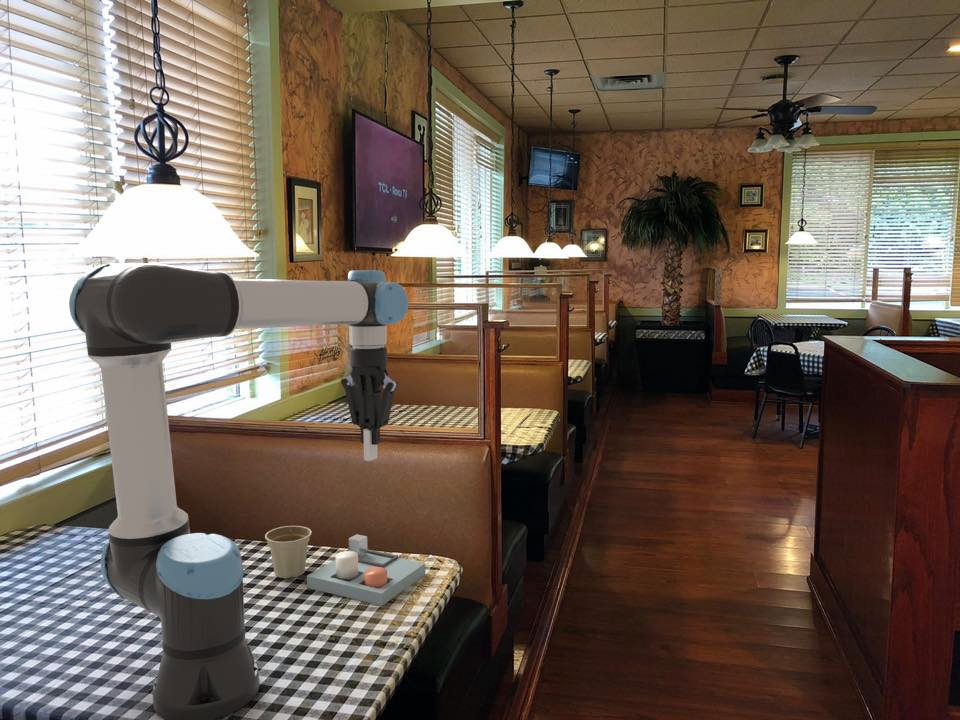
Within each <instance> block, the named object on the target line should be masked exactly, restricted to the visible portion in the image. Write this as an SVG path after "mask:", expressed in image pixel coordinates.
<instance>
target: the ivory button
mask: <svg viewBox="0 0 960 720" xmlns="http://www.w3.org/2000/svg"><path fill="white" fill-rule="evenodd" d="M335 560H336V576H337V577H338V578H341V579H350V578H354V577H356V576H357V575H358V553H356V552H353V551H348V550H345V551H340V552H338V553H336V554H335Z"/></svg>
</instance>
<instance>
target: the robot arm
mask: <svg viewBox="0 0 960 720" xmlns="http://www.w3.org/2000/svg"><path fill="white" fill-rule="evenodd" d="M68 304H69V305H68V306H69V313H70V316H71V319H72V320H73V323H74V324H75V325H76V327H77V328H78V329H79V330H80V331H81V332H83V333H84V335H85V343H86V350H87V358H89V359H91V360H92V361H93V362H95V364H97V365H98V366H99V367H100V372H101V379H102V389H103V397H104V406H105V415H106V422H107V423H106V424H107V434H108V441H109V449H110V459H111V467H112V468H111V469H112V474H113V484H114V492H115V501H116V509H117V517H116V519H115V520H113V521H112V523H111V524H110V525H109V527H108V536H109V538H108V542H107V544H106V545H105V546H104V547H103V549H102V552H101V557H100V571H101V575H102V578H103V580H104V581H105V583H106V584H107V586H108V587H109V588H110V589H111V590H112V591H113V592H114V593H116V594H117V596H118V597H120V598H121V599H124V600H126V601H127V602H130V603H133V604H135V605H137V606H138V607H140V608H142V609H144V610H146V611H148V612H150V613H151V614H154V615H155V616H157V617H158V618H160V625H161V642H162V655H161V659H160V664H159V668H158V673H157V678H156V679H155V681H154V682H153V686H152V693H151V695H152V706H153V707H152V708H153V710H154V712H155V713H156V714H157V715H158V716H159V717H161V718H162V719H165V720H217V719H220V718H223V717H225V716H228V715H230V714H232V713H234V712H236V711H239V710H240V709H242V708H244V707H245V706H246V705H247V704H249V703H250V702H251V701H253V699H254V698H255V697H256V696H257V694H258V691H259V689H260V671H259V667H258V665H257V663H256V661H255V658H254V655H253V652H252V650H251V648H250V646H249V643H248V641H247V639H246V627H245V625H246V623H245V622H246V621H245V605H244V604H245V601H244V600H245V599H244V598H245V597H244V578H243V577H244V574H245V573H244V571H245V570H244V565H243V561H242V553H241V551H240V548H239V547H238V545H237V543H235V542H234V541H233V540H232V539H230V538H229V537H226V536H224V535H220V534H217V533H210V534H206V533H205V532H195V533H193V532H192V533H191V530H190V522H189V515H188V513H187V512H186V511H184V510H183V509H181V508H179V506H178V505H177V495H176V485H175V474H174V467H173V466H174V464H173V456H172V455H173V454H172V447H171V446H172V444H171V435H170V434H171V433H170V425H169V415H168V405H167V396H166V385H165V376H164V366H163V365H164V364H163V361H164V359H165V358H166V356H168V354H169V353H170V352H171V351H172V343H177V342H185V341H192V340H193V341H194V340H199V339H207V338H221V337H228V336H230V335H232V333H233V332H234V331H235V330H243V329H248V330H249V329H264V328H265V329H267V328H288V327H290V328H291V327H312V326H313V327H314V326H335V325H337V326H338V325H339V326H340V325H349V326H348V327H349V331H348V332H349V334H348V335H349V345H350V346H352V347H350V349H349V360H350V362H349V364H350V365H351V370H350V375H347V377H345V378H342V379H341V380H340V383H341V385H342V386H343V389H344V392H345V397H346V401H347V405H348V410H349V414H350V418H351V423H352V425H355V426H358V427H359V429H360V443H361V444H363V460H364V461H366V462H371V461H374V460H376V459H378V457H379V456H378V455H379V454H378V445H379V444H380V442H381V428H383V427H386V426H388V425H389V421H390V417H391V412H392V405H393V402H394V401H393V400H394V395H395V392H396V390H397V388H398V387H399V382H398V381H397V380H392V379H391V378H390V377H389V372H388V371H387V364H388V348H387V347H386V346H385V345H387V343H388V338H387V337H388V335H387V334H388V332H387V331H388V330H387V328H388V327H387V325H395V324H398V323H400V322H401V321H402V320H403V319H404V318H405V316H406V315H407V313H408V311H409V310H408V309H409V297H408V293H407V291H406V290H405V288H404V287H403V286H402V284H400V283H398V282H393V281H391V282H390V281H386V273H385V272H384V271H382V270H380V269H379V270H376V269H375V270H374V269H369V270H368V269H366V270H363V269H361V270H360V269H359V270H350V271H349V272H348V275H347V280H318V279H317V280H309V279H308V280H304V279H263V278H262V279H257V278H254V279H252V278H251V279H250V278H233V277H232V276H231V275H230V274H229V273H227V272H225V271H208V270H200V269H192V268H185V267H182V266H175V265H170V264H162V263H152V262H150V263H149V262H148V263H147V262H146V263H136V262H133V263H131V262H130V263H129V262H128V263H127V262H118V261H117V262H113V263H106V264H103V265H99V266H95V267H92V268H91V269H88V270H87V271H86V272H84V273H83V274H82V275H81V276H80V277H79V278H78V279H77V280H76V282H75V283H74V285H73V287H72V289H71V292H70V294H69V302H68ZM382 387H383V388H382Z"/></svg>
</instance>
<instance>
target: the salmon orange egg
mask: <svg viewBox="0 0 960 720" xmlns="http://www.w3.org/2000/svg"><path fill="white" fill-rule="evenodd" d="M386 584H387V569H385V568H382V567H372V568H369V569H367V570H365V586H369V587H374V588H378V589H380V588H381V587H383V586H384V585H386Z"/></svg>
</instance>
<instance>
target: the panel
mask: <svg viewBox="0 0 960 720" xmlns="http://www.w3.org/2000/svg"><path fill="white" fill-rule="evenodd" d="M347 551H349V549H348V550H347ZM367 551H368V554H367V555H365V556H364V557H362V558H360V559H359V558H358V575H357V576H356V577H354V578H350V579H341V578H338V577H337V576H336V559H334V560H332V561H331V562H329V563H326V564H325V565H324V566H322V567H320V568H318V569H316V570H314V571H313V572H311V573H310V574H307V575H306V584H307V585H306V586H307V588H308V589H311V590H316V591H320V592H324V593H326V594H327V593H328V594H331V595H335V596H340V597H344V598H348V599H353V600H356V601H359V602H363V603H369V604H373V605H377V606H380V607H382V606H384V605H385V604H387V603H388V602H389V601H391V600H392V599H393V598H395V597H396V596H398V595H400V594H401V593H402V592H403V591H405V590H406V589H407V588H409V587H411V586H412V585H413V584H414V583H416V582H417V581H418V580H420V579H421V578H423V577H425V575H426V563H425V562H421V561H416V560H411V559H407V558H402V557H399V555H397V554H392V553H387V552H383V551H378V550H373V549H369V548H367ZM372 567H382V568H385V569H387V584H386V585H384V586H383V587H381V588H380V589H378V588H374V587H369V586H365V570H367V569H369V568H372Z"/></svg>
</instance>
